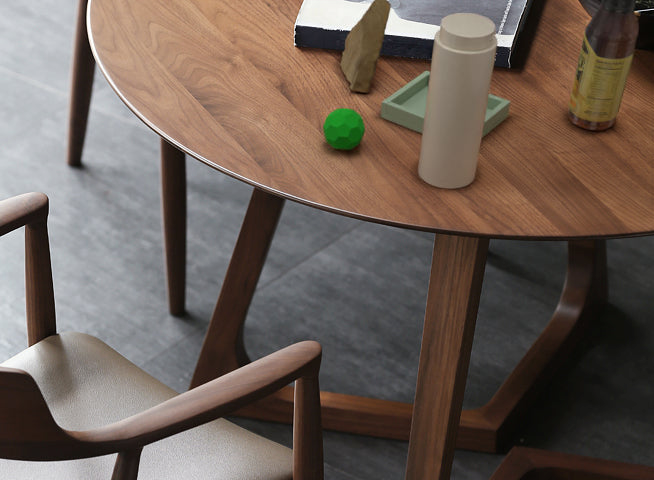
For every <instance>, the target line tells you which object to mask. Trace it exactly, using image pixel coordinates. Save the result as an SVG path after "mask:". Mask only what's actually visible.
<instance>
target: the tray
mask: <svg viewBox="0 0 654 480" xmlns="http://www.w3.org/2000/svg"><path fill="white" fill-rule="evenodd" d="M429 76H430V70H425V71H423V72H422V73H420V74H419V75H417V76H416V77H414V78H413V79H412V80H410V81H409V82H408V83H406V84H404V86H402V87H401V88H399V89H398V90H397V91H395V92H393V93H392V94H391V95H389V96H388V97H387V98H385V99H383V100H382V101H381V106H380V116H379V117H380V118H381V119H384V120H385V121H388V122H392V123H394V124H397V125H399V126H401V127H404V128H407V129H410V130H411V131H415V132H417V133H420V134H422V132H423V124H424V116H425V108H426V100H427V92H428V84H429ZM511 102H512V101H511V100H508V99H506V98H504V97H500V96H498V95H495V94H492V93H489V97H488V103H487V109H486V115H485V121H484V127H483V133H482V139H483V138H484V137H485V136H486V135H488V134H489V133H490V132H491V131H492V130H494V129H495V128H496V127H497V126H499V125H501V123H502V122H503V121H505V120H506V119H507V118H508V117H509V114H510V108H511V104H512V103H511Z"/></svg>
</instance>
